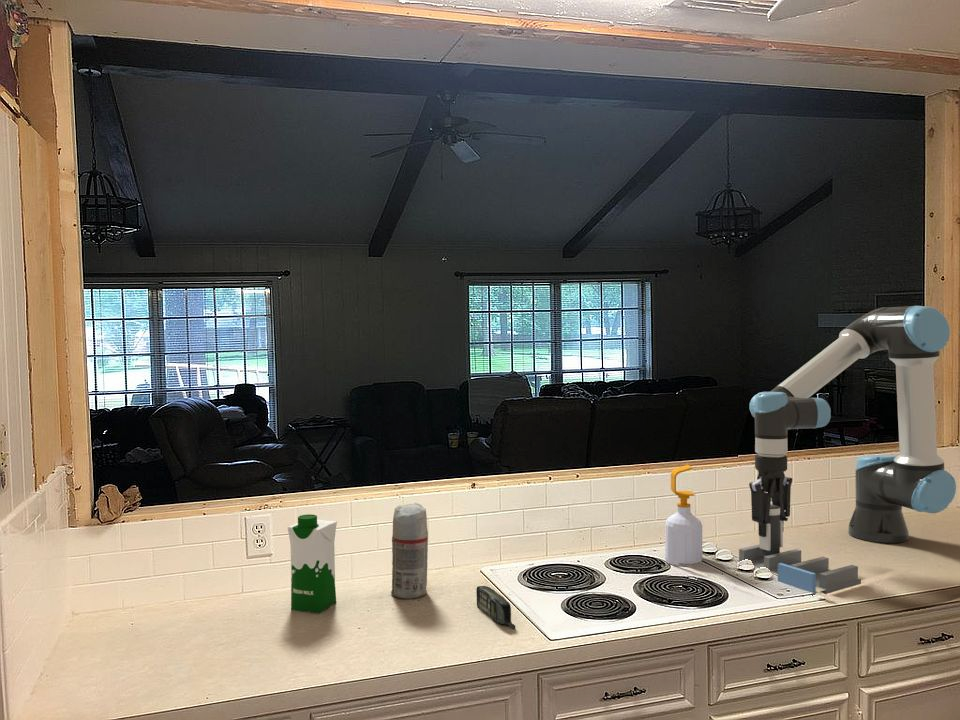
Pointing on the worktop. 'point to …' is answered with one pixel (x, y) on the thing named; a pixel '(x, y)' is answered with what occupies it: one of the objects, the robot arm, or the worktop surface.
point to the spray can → (409, 551)
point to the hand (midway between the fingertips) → (771, 547)
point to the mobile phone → (494, 605)
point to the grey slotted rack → (804, 567)
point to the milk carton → (312, 564)
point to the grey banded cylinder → (774, 530)
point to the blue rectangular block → (797, 577)
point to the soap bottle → (682, 529)
